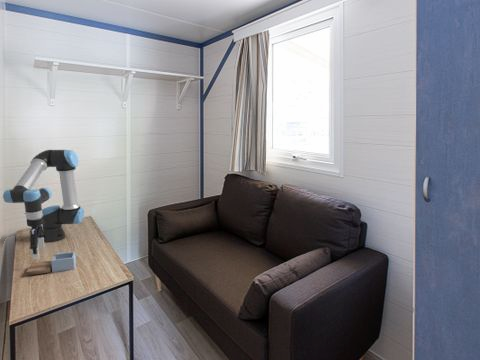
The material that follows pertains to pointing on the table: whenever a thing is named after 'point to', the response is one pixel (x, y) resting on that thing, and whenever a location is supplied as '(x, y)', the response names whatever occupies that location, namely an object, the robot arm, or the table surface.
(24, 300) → the table surface
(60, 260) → the slide box
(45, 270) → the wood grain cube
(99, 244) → the table surface
